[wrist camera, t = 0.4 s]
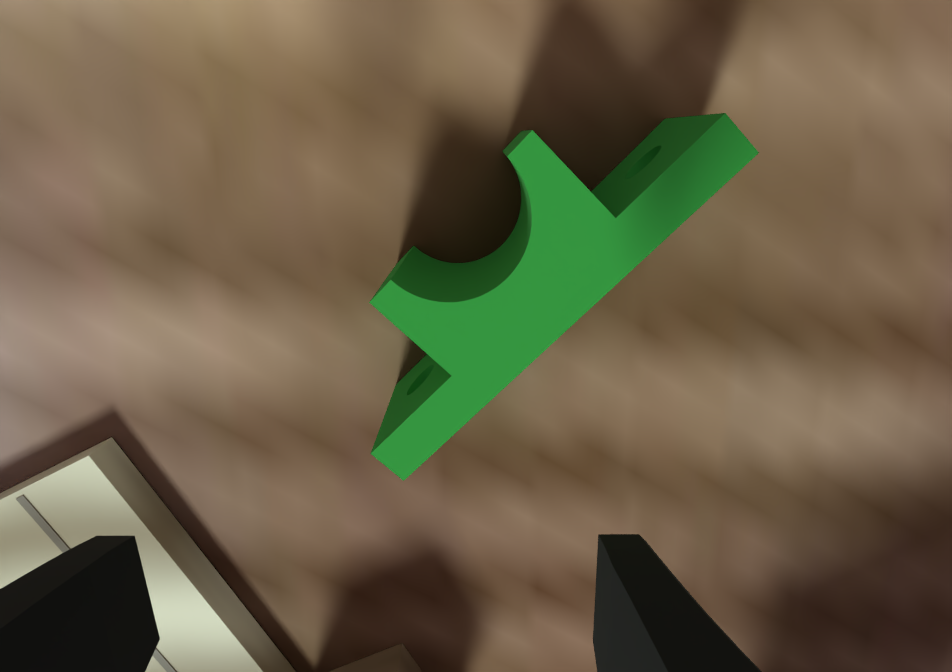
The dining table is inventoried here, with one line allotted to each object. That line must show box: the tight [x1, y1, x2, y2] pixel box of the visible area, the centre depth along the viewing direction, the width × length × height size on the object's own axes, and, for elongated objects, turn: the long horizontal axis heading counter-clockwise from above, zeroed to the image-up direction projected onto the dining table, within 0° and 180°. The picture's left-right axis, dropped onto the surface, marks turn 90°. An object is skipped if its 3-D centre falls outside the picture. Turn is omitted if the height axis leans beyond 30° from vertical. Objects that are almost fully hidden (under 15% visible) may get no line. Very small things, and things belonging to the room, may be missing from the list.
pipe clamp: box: [369, 113, 759, 481], centre depth 15 cm, size 11×4×5 cm, turn 136°
